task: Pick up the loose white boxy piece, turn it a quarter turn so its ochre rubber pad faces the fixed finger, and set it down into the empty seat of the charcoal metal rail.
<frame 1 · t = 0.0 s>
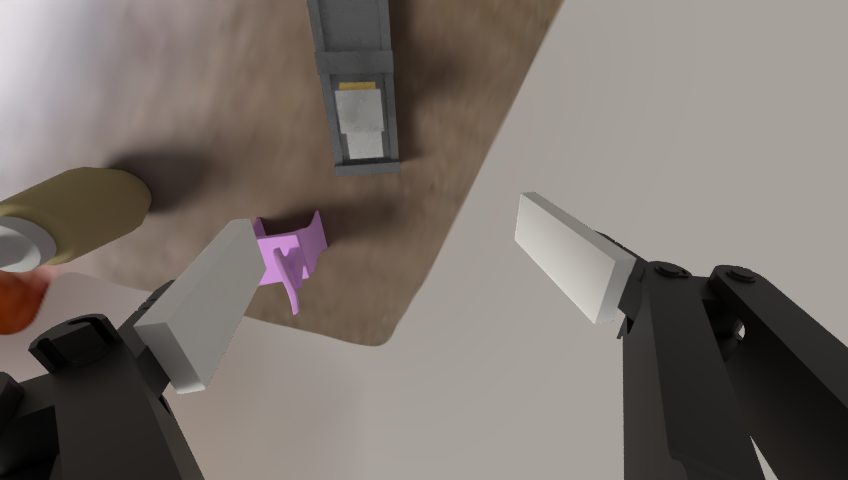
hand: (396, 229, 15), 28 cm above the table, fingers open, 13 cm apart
squeeze bottle: (125, 191, 37), on the table
toy chair: (292, 232, 43), on the table
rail: (356, 64, 35), on the table
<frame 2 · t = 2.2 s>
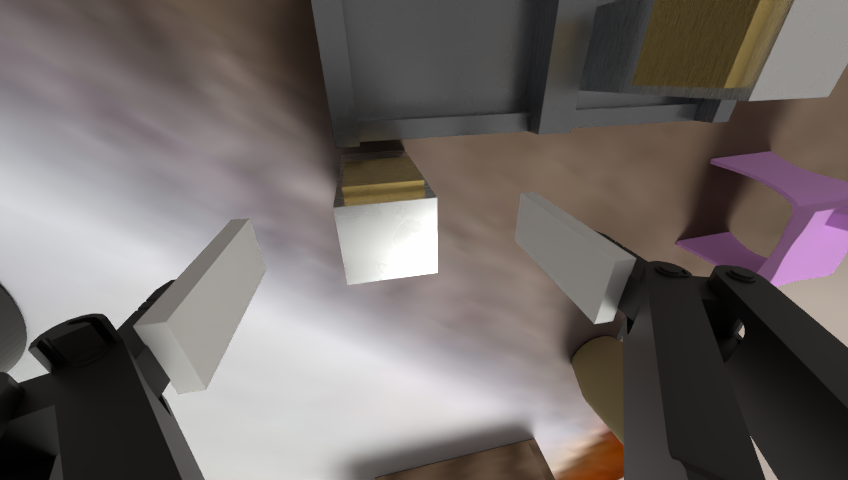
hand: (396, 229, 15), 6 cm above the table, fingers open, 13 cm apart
squeeze bottle: (592, 351, 35), on the table
white boxy piece: (379, 206, 21), on the table
toy chair: (716, 202, 28), on the table
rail: (529, 54, 18), on the table
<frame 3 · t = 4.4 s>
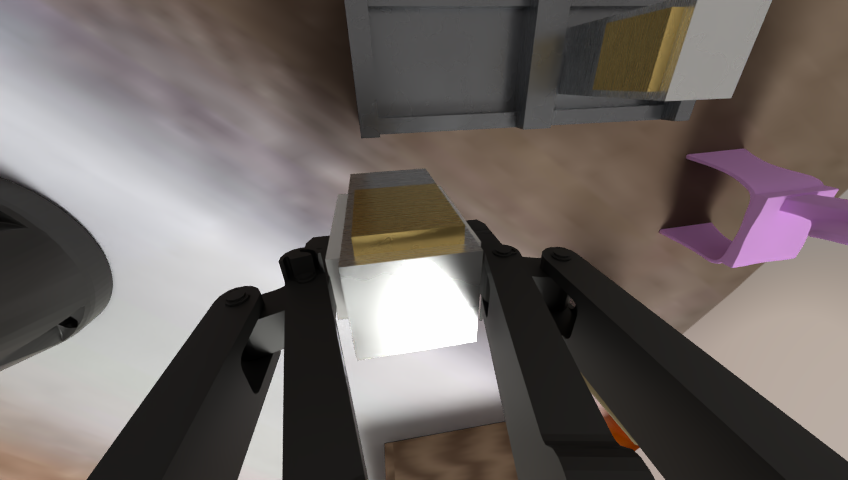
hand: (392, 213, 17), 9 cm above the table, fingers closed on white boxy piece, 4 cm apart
white boxy piece: (393, 234, 18), point 8 cm above the table, touching gripper
toy chair: (696, 194, 31), on the table
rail: (518, 64, 22), on the table
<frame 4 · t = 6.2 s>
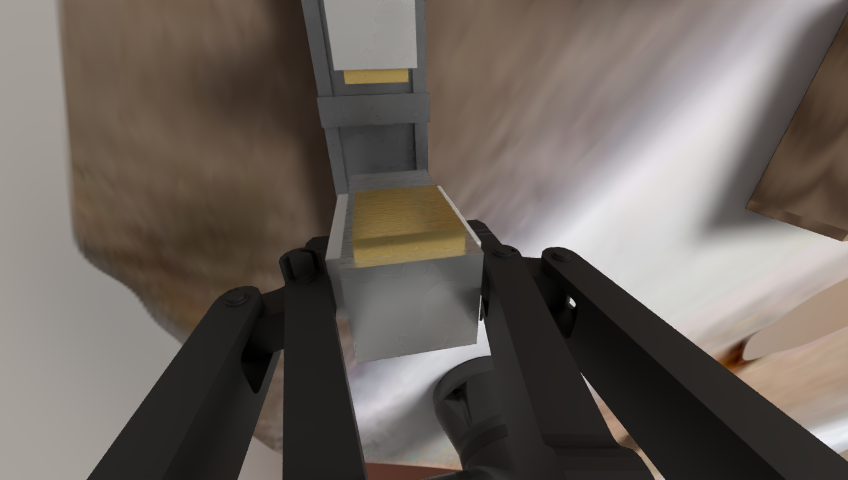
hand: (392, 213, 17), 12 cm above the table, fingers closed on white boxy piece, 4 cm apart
white boxy piece: (394, 235, 18), point 12 cm above the table, touching gripper
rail: (374, 106, 25), on the table
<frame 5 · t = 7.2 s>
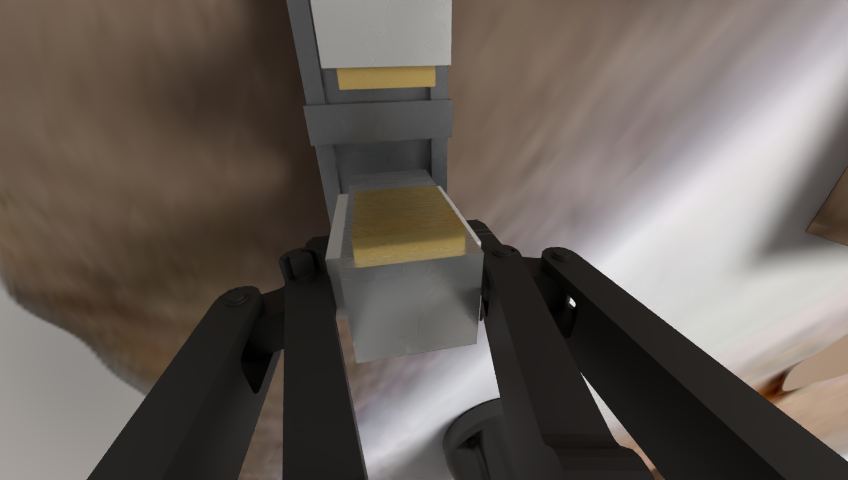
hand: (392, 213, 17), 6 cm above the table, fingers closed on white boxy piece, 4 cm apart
white boxy piece: (394, 235, 18), point 6 cm above the table, touching gripper
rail: (378, 115, 20), on the table
when the fingers open (3 cm above the table, at t = 8.0 s): white boxy piece stays where it is, resting on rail.
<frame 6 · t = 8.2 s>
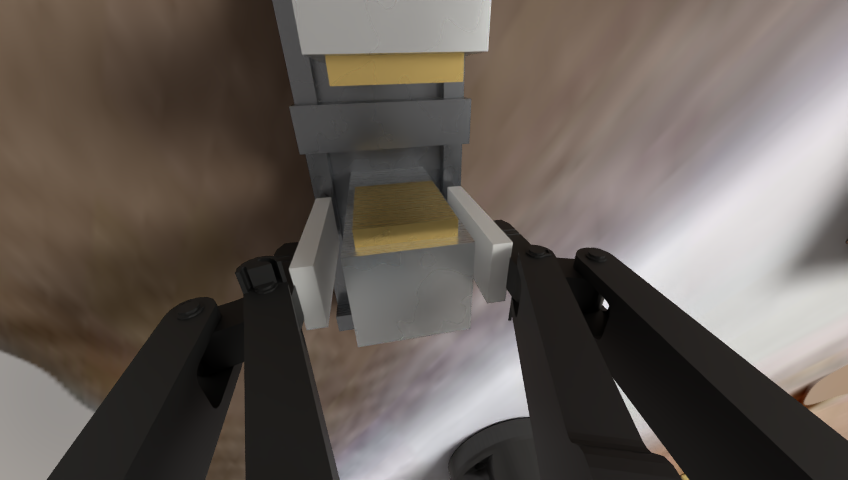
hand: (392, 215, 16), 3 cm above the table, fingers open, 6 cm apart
candy box: (686, 478, 57), on the table
white boxy piece: (393, 230, 18), point 2 cm above the table, touching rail
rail: (381, 116, 17), on the table
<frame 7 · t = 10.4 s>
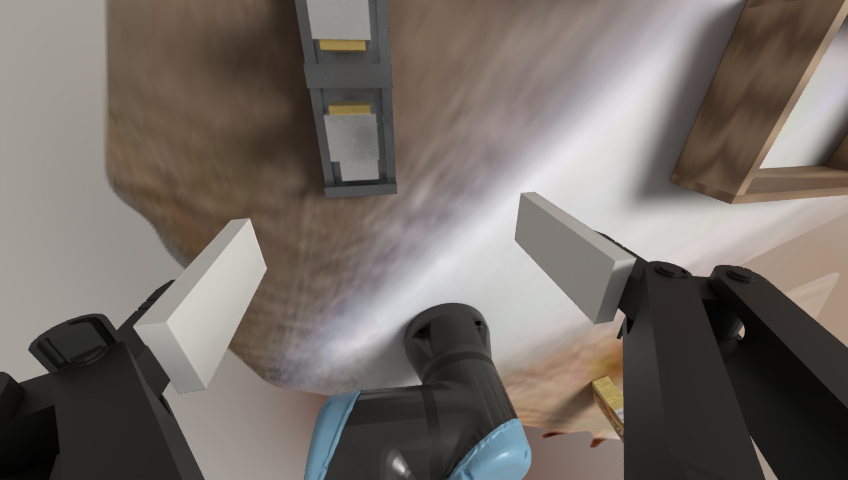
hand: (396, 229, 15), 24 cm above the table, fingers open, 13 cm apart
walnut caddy: (795, 100, 43), on the table
candy box: (598, 386, 73), on the table
white boxy piece: (357, 141, 33), point 2 cm above the table, touching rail
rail: (350, 75, 31), on the table
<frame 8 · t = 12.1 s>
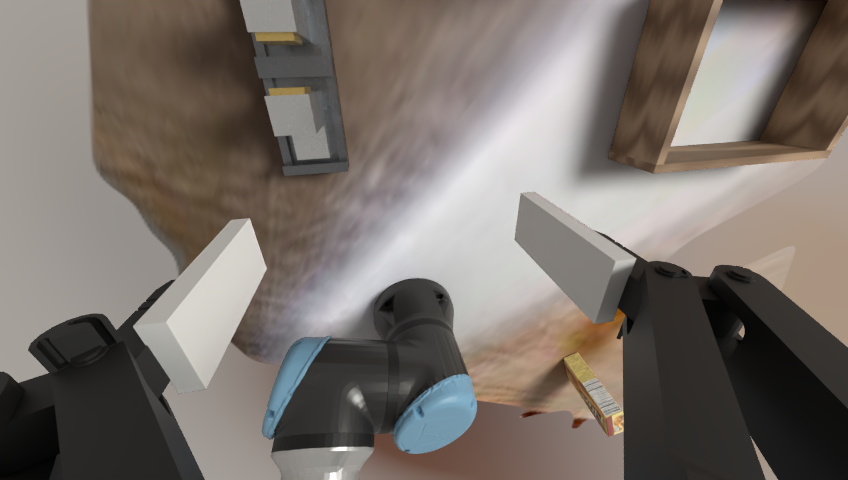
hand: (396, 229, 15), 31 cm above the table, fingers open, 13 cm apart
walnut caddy: (716, 79, 47), on the table
candy box: (571, 364, 76), on the table
white boxy piece: (309, 125, 38), point 2 cm above the table, touching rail
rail: (301, 68, 36), on the table
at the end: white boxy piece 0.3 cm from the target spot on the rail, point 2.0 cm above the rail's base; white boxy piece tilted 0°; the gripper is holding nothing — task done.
